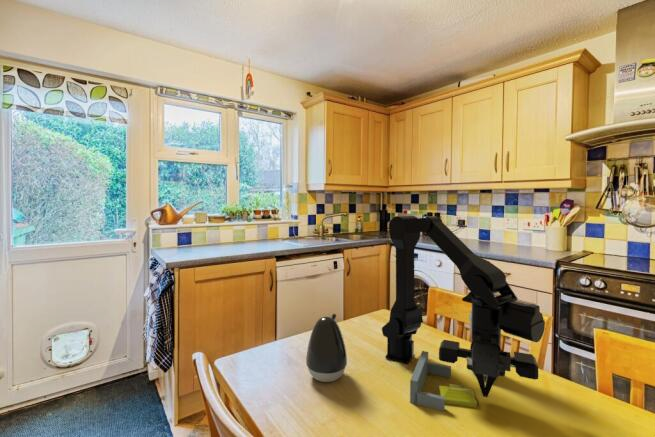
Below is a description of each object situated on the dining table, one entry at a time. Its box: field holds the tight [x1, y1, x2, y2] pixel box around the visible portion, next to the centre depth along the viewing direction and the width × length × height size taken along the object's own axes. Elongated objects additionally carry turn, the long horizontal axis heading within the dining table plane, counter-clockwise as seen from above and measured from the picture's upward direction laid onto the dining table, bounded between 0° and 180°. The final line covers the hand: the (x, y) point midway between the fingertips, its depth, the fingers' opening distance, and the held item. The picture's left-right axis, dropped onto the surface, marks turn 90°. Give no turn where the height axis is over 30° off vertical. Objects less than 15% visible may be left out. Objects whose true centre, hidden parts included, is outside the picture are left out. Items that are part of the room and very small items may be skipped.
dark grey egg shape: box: [305, 313, 348, 383], centre depth 80 cm, size 10×10×15 cm
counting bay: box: [409, 350, 452, 412], centre depth 75 cm, size 7×15×5 cm, turn 154°
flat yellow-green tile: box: [438, 383, 478, 408], centre depth 72 cm, size 10×9×3 cm
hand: (485, 395), depth 70 cm, fingers closed
